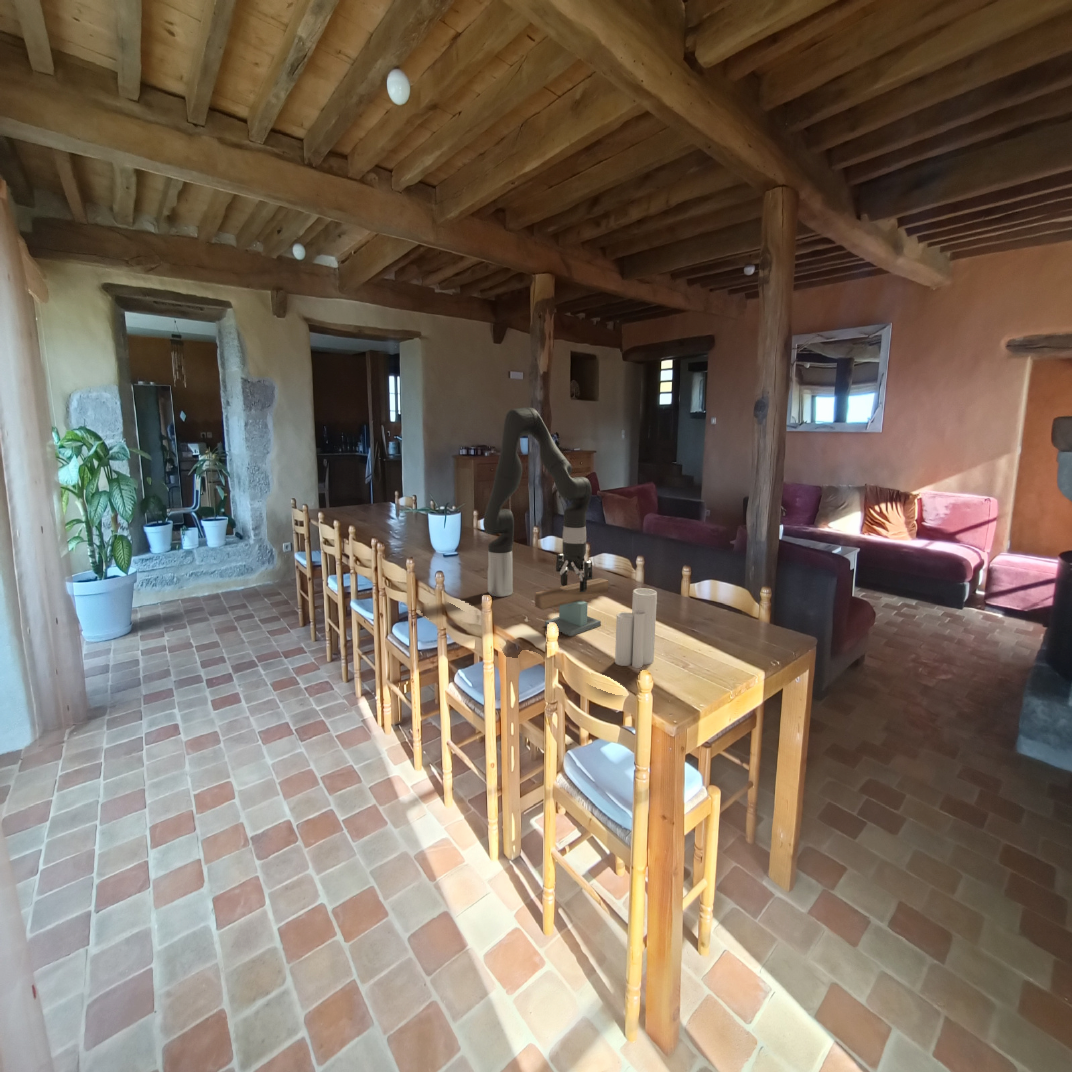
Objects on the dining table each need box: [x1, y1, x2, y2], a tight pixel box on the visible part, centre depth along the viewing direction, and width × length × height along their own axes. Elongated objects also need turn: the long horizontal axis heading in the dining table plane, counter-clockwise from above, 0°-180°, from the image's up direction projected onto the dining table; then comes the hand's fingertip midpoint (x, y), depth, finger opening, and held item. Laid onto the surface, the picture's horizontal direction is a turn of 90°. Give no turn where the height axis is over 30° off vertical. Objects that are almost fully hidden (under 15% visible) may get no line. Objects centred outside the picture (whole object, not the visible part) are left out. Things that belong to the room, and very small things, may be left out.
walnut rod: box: [534, 577, 609, 611], centre depth 176 cm, size 4×28×4 cm, turn 127°
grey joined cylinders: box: [614, 587, 658, 669], centre depth 150 cm, size 11×7×20 cm, turn 120°
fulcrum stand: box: [544, 600, 602, 637], centre depth 177 cm, size 12×14×9 cm
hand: (573, 588), depth 176 cm, fingers open, 8 cm apart
